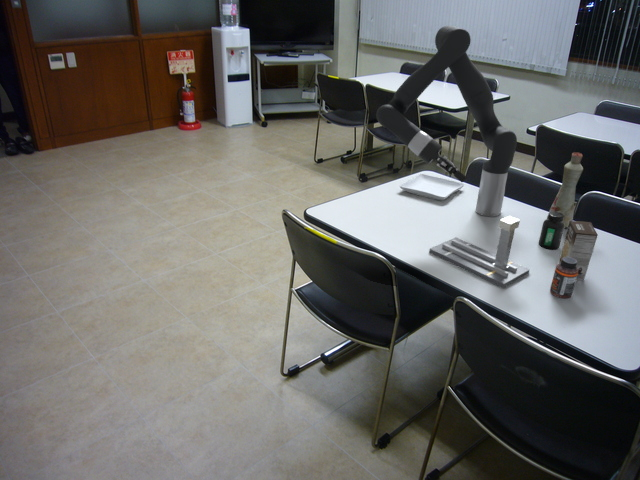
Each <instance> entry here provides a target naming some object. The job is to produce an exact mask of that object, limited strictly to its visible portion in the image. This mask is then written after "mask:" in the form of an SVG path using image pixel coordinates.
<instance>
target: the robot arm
mask: <svg viewBox="0 0 640 480" xmlns="http://www.w3.org/2000/svg"><path fill="white" fill-rule="evenodd" d="M471 41H472V39H471V35H470V33H469V31H467V29H464V28H463V27H459V26H455V25H445V26H441V27H440V28H439V30H438V31H437V33H436V34H435V38H434V43H435V45H434V46H435V48H436V49H437V52H435V54H434V55H433V56H432V57H431V59H430V58H429V60H428V61H427V62H426V63H424V64H423V65H422V66H420V67H419V68H418V69H416V70H415V71H414V72H412V73H411V74H409V76H408V77H407V78H406V79H405V80H404V82H403V83H401V84H400V86H399V88H397V90H395V92H394V95H393V98H391V100H390V101H389V102H388V103H387V104H383V105H381V106H379V107H378V109H377V111H376V115H375V116H376V120H377V121H378V123H379V124H380V125H381V127H383V128H384V129H385V128H386V130H388V131H389V132H391V133H392V134H393V135H395V136H396V138H397V139H398V140H399V141H400V142H401V143H402V144H403V145H405V146H406V147H407V148H408V149H409V150H410V151H411V152H412V153H414V154H415V156H417V157H418V158H419V159H421V160H422V161H423V162H424V163H425V164H427V165H429V164H430V163H432V162H433V161H435V162H436V163H435V165H436V166H437V167H439V168H441V169H442V170H443V171H444V172H446V173H448V174H449V175H451V176H454V177H455V178H456V179H457V180H458V181H459V182H460V183H464V182H465V181H466V180H467V176H466V175H465V174H463V173H462V171H460V170H459V168H457V167H456V166H455V165H454V164H455V163H453V162H452V160H450V159H449V157H447V156H446V155H441V154H440V152H441V151H442V150H443V146H442V144H440V143H439V142H438V141H436V140H435V138H433V137H432V136H430V135H429V134H428V133H426V132H425V131H423V130H421V129H420V127H418V126H417V125H416V124H414V123H413V122H411V121H410V120H408V118H407V117H405V116H404V115H405V114H406V113H407V111H408V110H409V108H410V107H411V106H412V105H413V104H414V103H415V102H416V101H417V99H418V98H419V97H420V96H421V95H422V94H423V93H424V91H426V89H427V88H428V87H429V86H430V85H431V84H432V83H433V82H434V81H435V80H436V79H437V78H438V77H439V76H440V75H441V74H443V72H445V71H446V70H447V69H448V68H449V71H450V72H451V74H452V77H453V79H454V81H455V83H456V86H457V88H458V90H459V91H460V94H461V96H462V99H463V100H464V102H465V104H466V106H467V108H468V109H469V112H470V114H471V115H472V116H471V117H473V119H474V120H475V123H476V125H477V127H478V129H479V133H480V136H481V139H482V141H483V143H484V146H486V148H487V149H488V150H489V151H491V155H490V158H489V159H487V160H485V161H483V165H482V170H481V171H482V172H481V176H480V183H479V189H478V193H477V194H478V195H477V199H476V205H475V206H476V207H475V212H476V213H477V214H479V215H482V216H484V217H499V215H500V214H501V212H502V208H503V202H504V197H505V192H506V184H507V179H508V173H509V169H510V167H511V166H512V164H513V162H514V157H515V154H516V153H515V152H516V150H517V149H516V148H517V143H518V142H517V141H518V140H517V139H518V138H517V137H518V136H517V135H516V133H515V132H514V131H512V130H510V129H508V128H507V127H504V126H503V125H502V124H501V123H500V121H499V119H498V117H497V115H496V113H495V110H494V109H495V108H494V104H495V103H494V95H493V92H492V90H491V88H490V86H489V84H488V83H489V82H487V79H486V78H485V77H484V75H483V74H482V73H481V71H480V70H479V69H478V68H477V66H476V65H475V64H474V62H472V60H471V59H470V57H469V55H468V53H467V51H468V50H469V47H470V46H471Z"/></svg>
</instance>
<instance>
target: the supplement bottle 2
mask: <svg viewBox="0 0 640 480" xmlns="http://www.w3.org/2000/svg"><path fill="white" fill-rule="evenodd" d="M576 265H577V260H576V259H574V258H571V257H563V258H562V261H561V263H559V262H558V263H557V264H556V266H555V270H554V273H553V277H552V282H551V285H550V289H549V290H550V293H551V294H552V295H553V296H555V297H557V298H561V299H568V298H571V296H572V295H573V291H574V288H575V284H576V281H577V280H576V278H577V275H578V268H577V267H576Z"/></svg>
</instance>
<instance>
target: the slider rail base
mask: <svg viewBox="0 0 640 480" xmlns="http://www.w3.org/2000/svg"><path fill="white" fill-rule="evenodd" d="M428 253H429V254H431V255H433V256H435V257H437V258H439V259H442V260H443V261H446V262H448V263H450V264H452V265H453V266H454V265H455V266H456V267H458V268H460V269H462V270H464V271H466V272H468V273H471V274H473V275H475V276H476V277H479V278H481V279H483V280H485V281H487V282H489V283H491V284H494V285H496V286H497V287H500V288H501V289H504V288H506V287H508V286H510V285H511V284H512V285H513V283H515V282H516V281H518V280H521V279H522V278H524V277H526V276H527V275H529V273H530V269H529V268H527V267H525V266H523V265H520V264H518V263H515V262H513V261H512V260H509V259H508V264H507V266H509V268H508V270H506V271H505V270H503V269H500V268H498V267H496V266H494V265H492V264H494V263H495V258H496V253H493V252H491V251H488V250H486V249H484V248H481V247H479V246H476V245H474V244H473V243H470V242H468V241H465V240H463V239H462V238H459V237H453V238H451V239H448V240H447V241H445V242H442V243H439V244H436V245H435V246H433V247H431V248H429V252H428Z"/></svg>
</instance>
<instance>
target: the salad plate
mask: <svg viewBox="0 0 640 480" xmlns="http://www.w3.org/2000/svg"><path fill="white" fill-rule="evenodd" d="M464 186H465V183H464V182H460V181H455V180H450V179H447V178H443V177H439V176H434V175H429V174H424V173H420V174H418V175H416V176H415V177H412V178H411V179H408V180H407V181H405V182H403V183H402V184H400V185H399V188H400V189H401V190H403V191H404V192H407V193H410V194H414V195H417V196H420V197H425V198H428V199H433V200H437V201H443V200H445V199H447V198H448V197H449V196H451V195H453V194H455V193H456V192H458V191H459V190H461V189H462V188H463V187H464Z"/></svg>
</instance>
